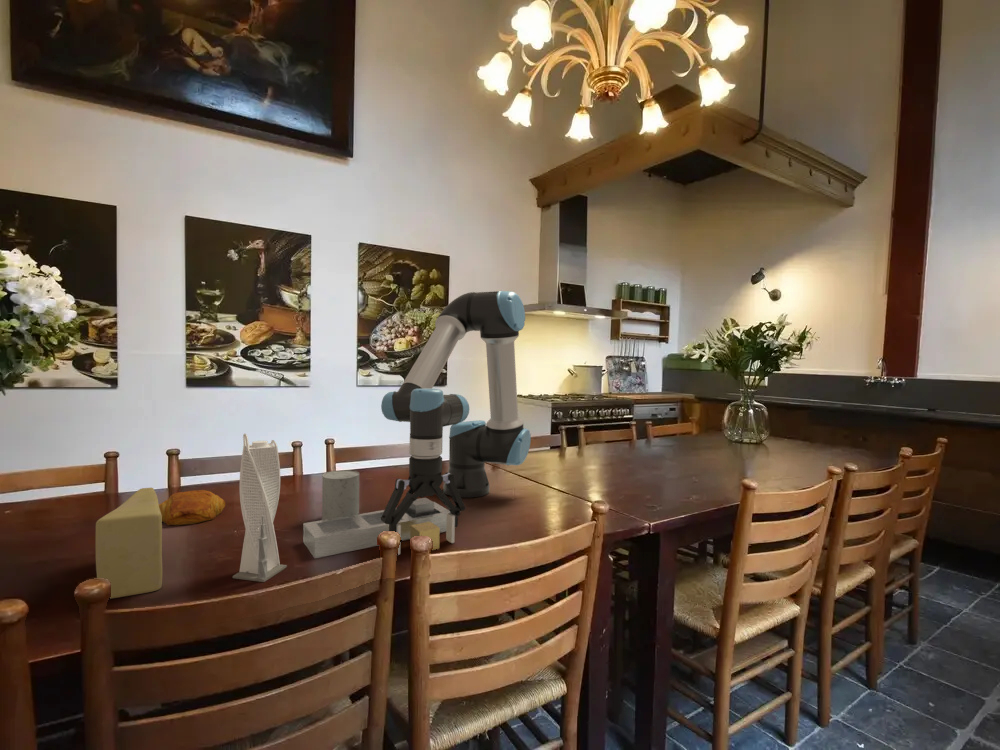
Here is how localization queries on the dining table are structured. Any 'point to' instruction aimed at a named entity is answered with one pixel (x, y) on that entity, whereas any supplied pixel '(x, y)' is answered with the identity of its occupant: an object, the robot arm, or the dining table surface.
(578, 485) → the dining table surface
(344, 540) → the tray
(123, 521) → the cheese
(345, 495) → the grey flat-topped mottled cylinder
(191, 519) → the croissant
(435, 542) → the tan foam cube
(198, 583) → the dining table surface
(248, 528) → the skyscraper
